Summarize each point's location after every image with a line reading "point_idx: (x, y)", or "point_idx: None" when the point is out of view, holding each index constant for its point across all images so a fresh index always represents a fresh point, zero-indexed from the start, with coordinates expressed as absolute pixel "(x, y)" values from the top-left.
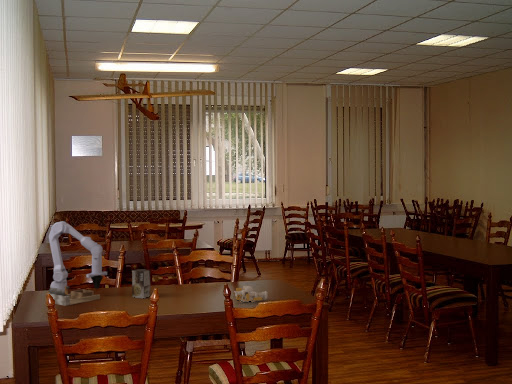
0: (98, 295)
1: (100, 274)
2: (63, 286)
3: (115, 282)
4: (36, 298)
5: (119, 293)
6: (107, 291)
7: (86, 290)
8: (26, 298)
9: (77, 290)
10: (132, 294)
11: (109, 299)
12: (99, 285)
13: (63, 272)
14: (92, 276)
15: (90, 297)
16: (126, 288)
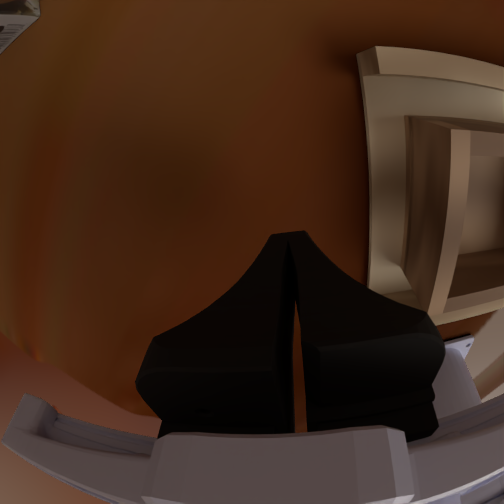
0: (398, 48)
1: (382, 447)
2: (468, 402)
3: (53, 406)
4: (489, 376)
5: (47, 230)
6: (100, 335)
7: (460, 240)
8: (494, 387)
9: (490, 296)
10: (24, 11)
11: (257, 3)
12: (263, 250)
13: (479, 495)
14: (472, 418)
15: (495, 66)
16: (12, 320)
